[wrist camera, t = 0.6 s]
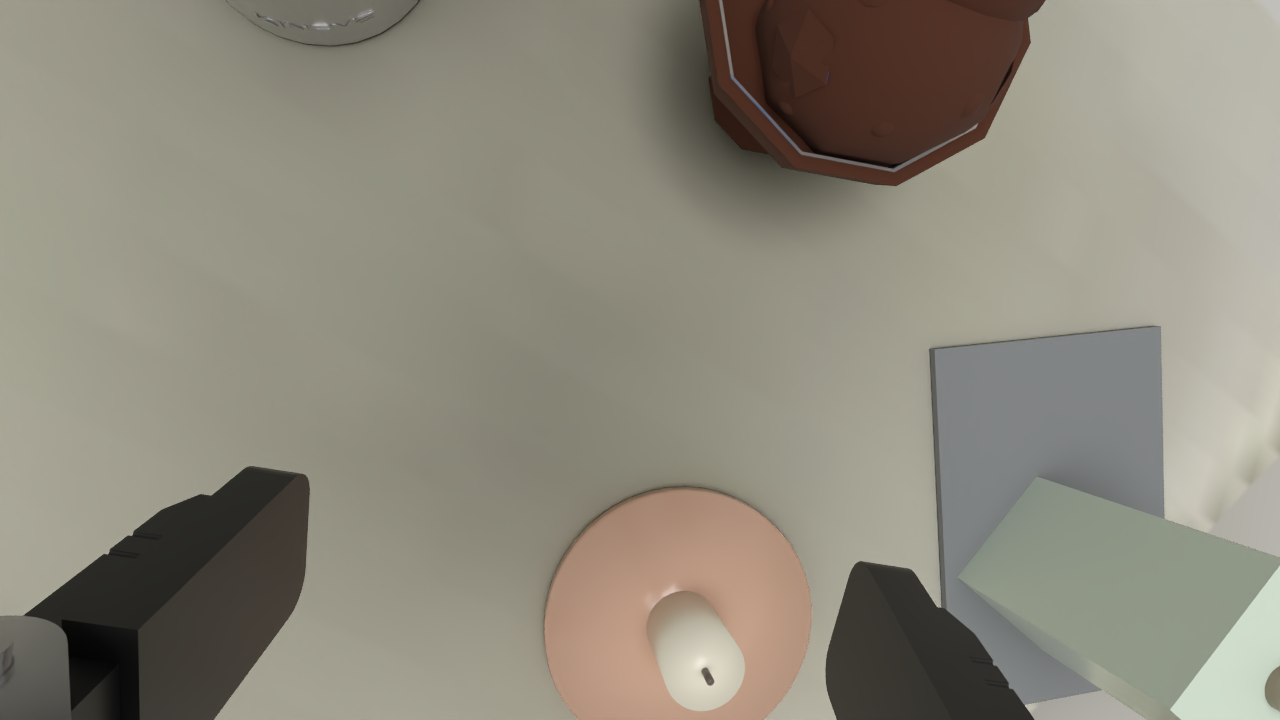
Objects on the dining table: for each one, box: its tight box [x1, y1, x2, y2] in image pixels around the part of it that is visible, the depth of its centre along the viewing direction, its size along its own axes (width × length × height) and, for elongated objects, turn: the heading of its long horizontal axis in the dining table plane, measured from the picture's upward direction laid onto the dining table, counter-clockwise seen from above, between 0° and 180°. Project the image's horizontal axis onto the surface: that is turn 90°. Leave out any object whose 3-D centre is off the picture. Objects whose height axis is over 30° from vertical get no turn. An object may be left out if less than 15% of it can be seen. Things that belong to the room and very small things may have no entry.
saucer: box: [544, 487, 811, 720], centre depth 33 cm, size 12×12×1 cm
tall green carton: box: [957, 476, 1280, 720], centre depth 29 cm, size 6×6×13 cm
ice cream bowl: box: [699, 0, 1045, 186], centre depth 25 cm, size 11×11×15 cm
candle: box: [647, 591, 745, 711], centre depth 30 cm, size 3×3×5 cm
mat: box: [930, 326, 1164, 705], centre depth 36 cm, size 18×12×1 cm, turn 5°
